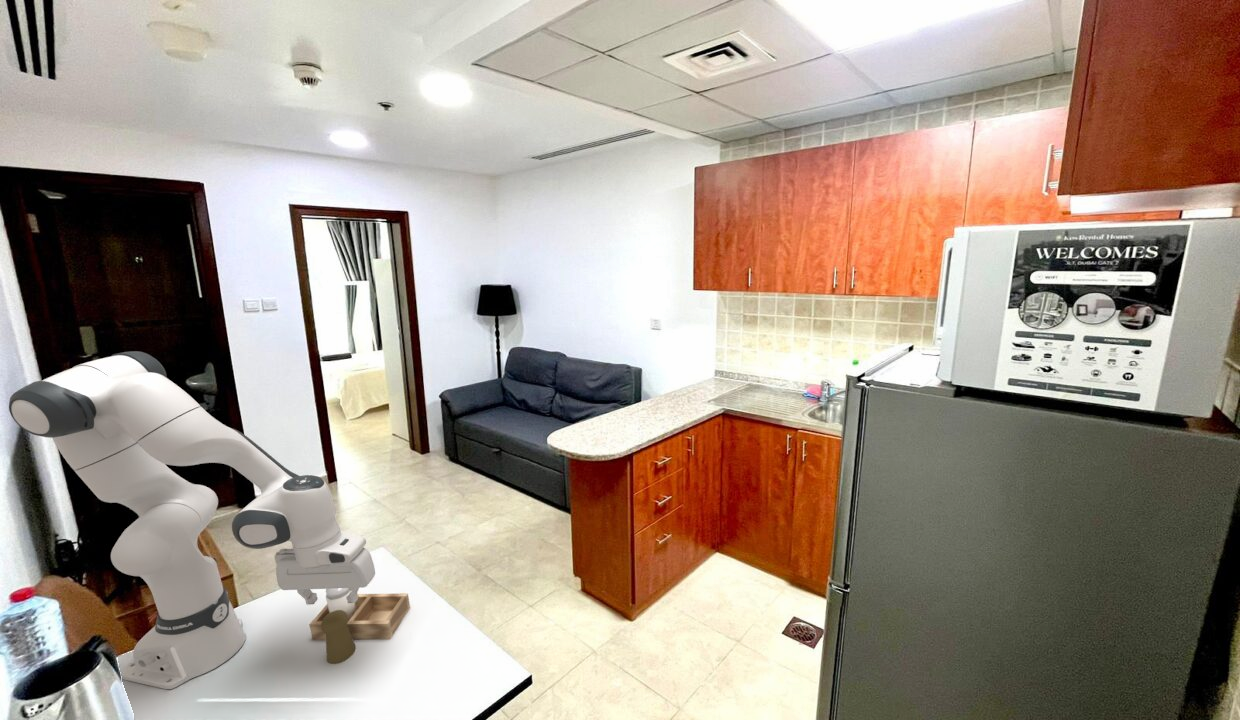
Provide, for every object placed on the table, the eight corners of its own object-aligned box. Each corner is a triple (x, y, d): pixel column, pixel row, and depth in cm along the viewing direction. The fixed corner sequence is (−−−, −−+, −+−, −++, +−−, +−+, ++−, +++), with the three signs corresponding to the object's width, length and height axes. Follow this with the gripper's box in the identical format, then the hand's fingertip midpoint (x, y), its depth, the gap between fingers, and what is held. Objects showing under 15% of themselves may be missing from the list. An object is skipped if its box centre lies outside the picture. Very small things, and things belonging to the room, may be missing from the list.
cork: (343, 669, 105) (334, 627, 102) (320, 665, 106) (310, 624, 104) (362, 646, 111) (354, 607, 108) (340, 643, 112) (332, 604, 109)
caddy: (313, 642, 113) (309, 624, 112) (338, 610, 122) (335, 594, 121) (391, 641, 112) (387, 623, 111) (410, 610, 122) (407, 593, 121)
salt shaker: (327, 631, 115) (319, 594, 112) (341, 614, 120) (334, 578, 118) (349, 631, 114) (342, 594, 112) (362, 614, 120) (355, 578, 117)
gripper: (261, 558, 99) (277, 614, 103) (356, 555, 98) (368, 611, 102) (283, 540, 105) (297, 593, 109) (372, 537, 105) (383, 590, 108)
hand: (332, 601), depth 105 cm, fingers open, 8 cm apart
